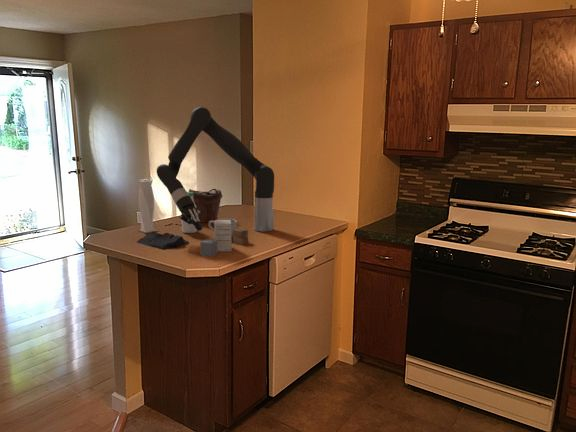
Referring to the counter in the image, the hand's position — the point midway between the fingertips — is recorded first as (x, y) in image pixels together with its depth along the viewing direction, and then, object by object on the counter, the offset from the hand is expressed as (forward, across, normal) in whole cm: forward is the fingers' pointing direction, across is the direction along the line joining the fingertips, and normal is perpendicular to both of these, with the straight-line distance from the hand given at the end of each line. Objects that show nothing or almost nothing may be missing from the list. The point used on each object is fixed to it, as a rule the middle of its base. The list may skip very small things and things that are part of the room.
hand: (200, 229), depth 229 cm
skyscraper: (-21, -3, +30) cm, 37 cm away
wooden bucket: (-21, +35, +30) cm, 51 cm away
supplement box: (+15, 0, -6) cm, 16 cm away
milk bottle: (-10, +11, +20) cm, 25 cm away
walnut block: (+13, +14, -4) cm, 19 cm away
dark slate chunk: (-4, -12, +14) cm, 19 cm away
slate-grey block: (+16, -10, -7) cm, 21 cm away
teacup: (+3, +16, +6) cm, 17 cm away
